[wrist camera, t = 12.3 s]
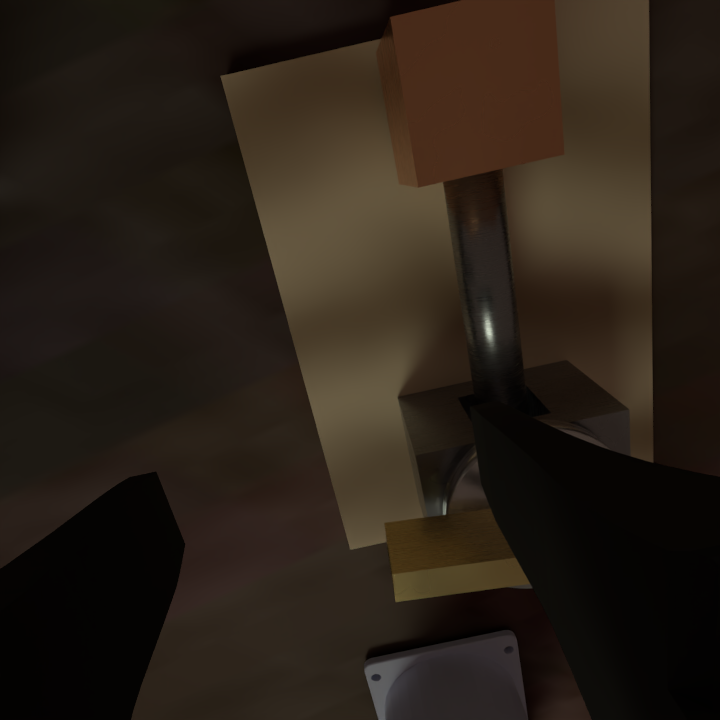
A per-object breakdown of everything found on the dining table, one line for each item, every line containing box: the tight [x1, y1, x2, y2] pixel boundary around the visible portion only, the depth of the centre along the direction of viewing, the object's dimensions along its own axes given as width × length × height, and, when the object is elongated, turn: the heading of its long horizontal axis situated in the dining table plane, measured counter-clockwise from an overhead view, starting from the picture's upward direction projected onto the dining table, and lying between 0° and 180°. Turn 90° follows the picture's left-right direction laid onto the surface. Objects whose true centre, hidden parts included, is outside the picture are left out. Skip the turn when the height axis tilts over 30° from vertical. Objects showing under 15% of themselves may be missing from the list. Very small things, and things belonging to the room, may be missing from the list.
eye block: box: [398, 360, 631, 517], centre depth 19 cm, size 5×7×5 cm
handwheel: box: [384, 420, 611, 602], centre depth 16 cm, size 8×6×3 cm
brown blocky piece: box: [376, 0, 565, 415], centre depth 16 cm, size 12×4×4 cm, turn 12°
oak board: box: [221, 0, 653, 550], centre depth 20 cm, size 20×14×1 cm
